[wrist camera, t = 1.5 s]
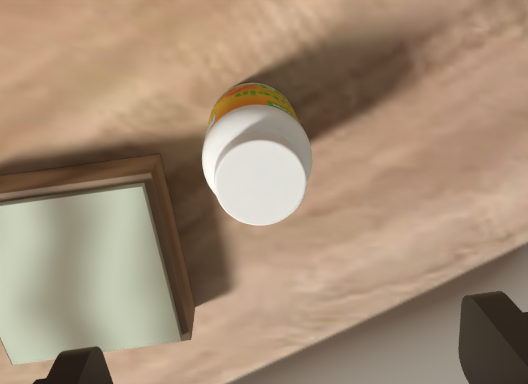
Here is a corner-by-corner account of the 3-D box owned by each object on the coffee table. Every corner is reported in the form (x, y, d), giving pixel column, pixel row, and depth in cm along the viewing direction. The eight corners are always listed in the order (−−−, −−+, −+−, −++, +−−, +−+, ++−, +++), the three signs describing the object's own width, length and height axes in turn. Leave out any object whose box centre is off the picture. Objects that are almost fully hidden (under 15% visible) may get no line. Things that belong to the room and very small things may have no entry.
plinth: (160, 153, 28) (149, 176, 25) (195, 307, 33) (190, 345, 29) (-30, 179, 28) (-70, 206, 25) (32, 330, 33) (7, 371, 29)
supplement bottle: (305, 93, 27) (340, 138, 18) (282, 173, 29) (304, 249, 20) (218, 71, 27) (211, 108, 18) (201, 156, 29) (186, 227, 20)
